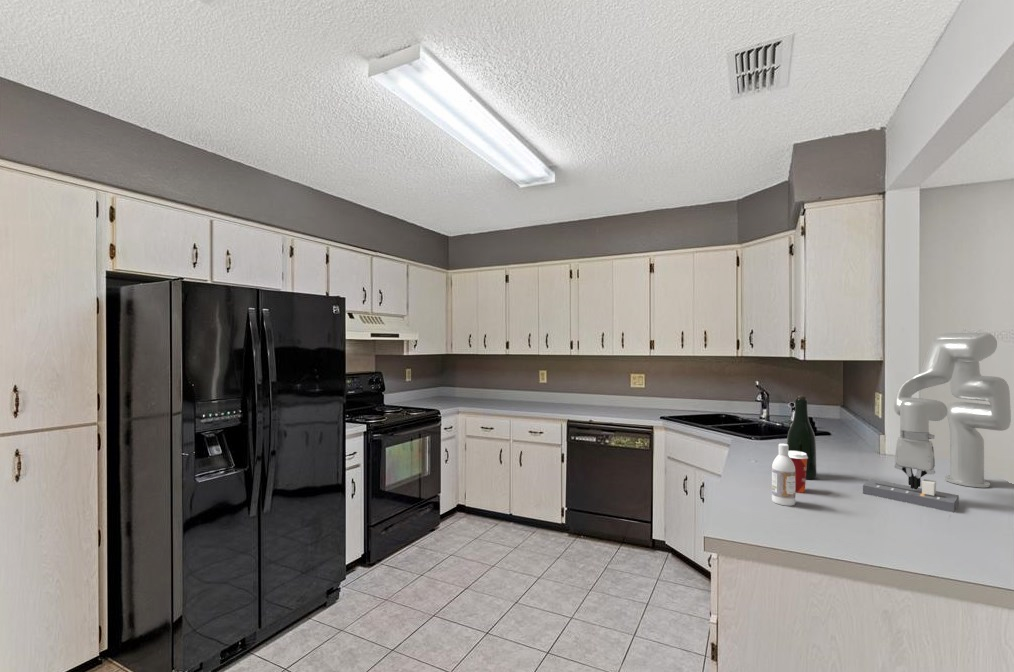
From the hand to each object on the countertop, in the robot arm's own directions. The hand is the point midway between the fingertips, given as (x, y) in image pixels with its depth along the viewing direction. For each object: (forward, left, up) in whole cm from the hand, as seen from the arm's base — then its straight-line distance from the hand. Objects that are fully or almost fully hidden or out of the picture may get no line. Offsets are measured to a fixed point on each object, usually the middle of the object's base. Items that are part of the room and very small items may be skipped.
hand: (914, 488), depth 162 cm
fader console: (0, -1, -4) cm, 4 cm away
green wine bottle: (-1, -35, -4) cm, 36 cm away
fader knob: (0, +4, -1) cm, 4 cm away
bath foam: (+39, -28, -4) cm, 48 cm away
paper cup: (+21, -30, -4) cm, 37 cm away
